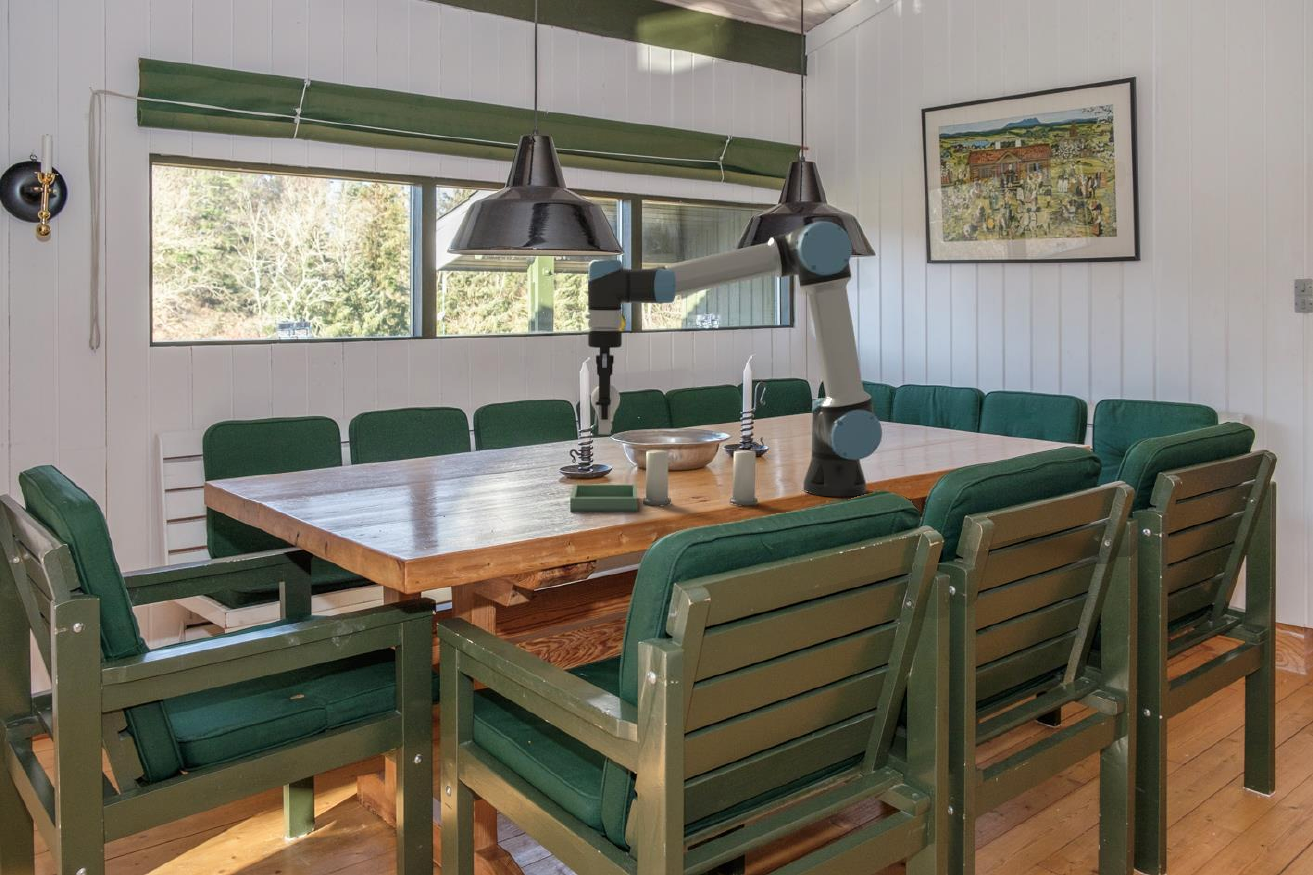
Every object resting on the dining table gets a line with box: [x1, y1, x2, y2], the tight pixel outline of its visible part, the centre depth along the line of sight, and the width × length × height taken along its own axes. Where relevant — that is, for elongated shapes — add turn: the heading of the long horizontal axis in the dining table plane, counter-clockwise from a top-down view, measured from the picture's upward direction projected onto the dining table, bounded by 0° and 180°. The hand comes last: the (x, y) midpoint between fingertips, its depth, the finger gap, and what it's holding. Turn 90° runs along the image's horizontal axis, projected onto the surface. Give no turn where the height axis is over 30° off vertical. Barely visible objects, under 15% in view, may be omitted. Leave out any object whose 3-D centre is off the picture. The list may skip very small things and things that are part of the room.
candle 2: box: [729, 449, 759, 507], centre depth 248 cm, size 6×6×12 cm
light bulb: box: [590, 384, 621, 431], centre depth 244 cm, size 7×7×11 cm
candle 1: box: [642, 449, 672, 507], centre depth 247 cm, size 6×6×12 cm
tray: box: [569, 484, 639, 513], centre depth 246 cm, size 15×17×3 cm
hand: (604, 431), depth 244 cm, fingers closed on light bulb, 6 cm apart
